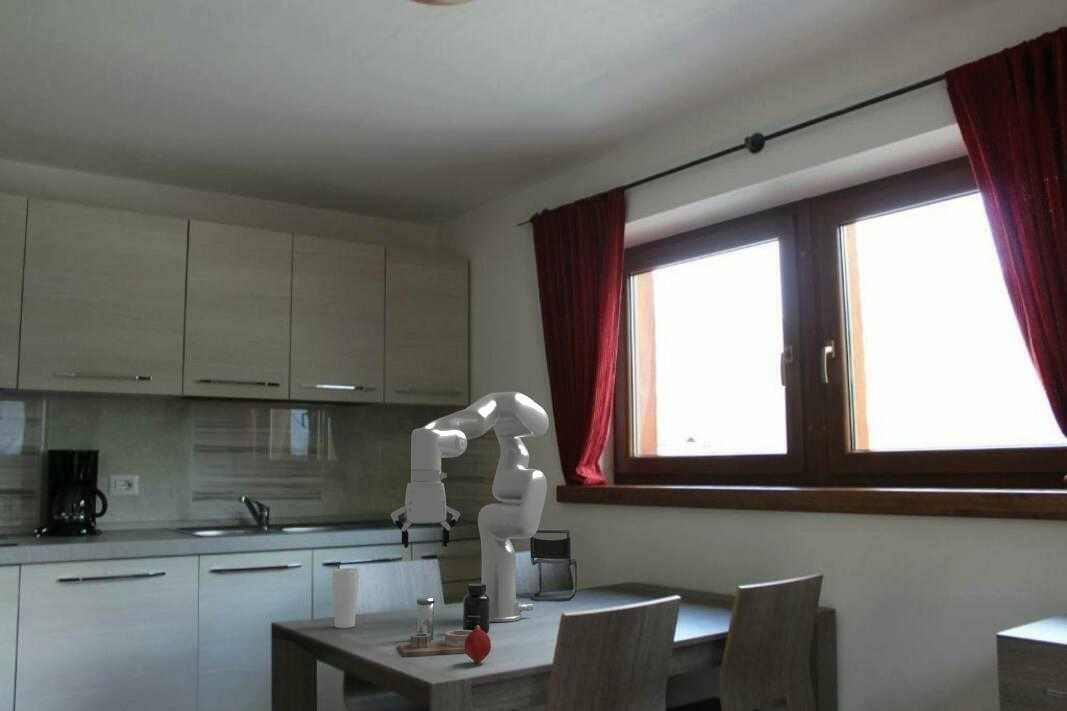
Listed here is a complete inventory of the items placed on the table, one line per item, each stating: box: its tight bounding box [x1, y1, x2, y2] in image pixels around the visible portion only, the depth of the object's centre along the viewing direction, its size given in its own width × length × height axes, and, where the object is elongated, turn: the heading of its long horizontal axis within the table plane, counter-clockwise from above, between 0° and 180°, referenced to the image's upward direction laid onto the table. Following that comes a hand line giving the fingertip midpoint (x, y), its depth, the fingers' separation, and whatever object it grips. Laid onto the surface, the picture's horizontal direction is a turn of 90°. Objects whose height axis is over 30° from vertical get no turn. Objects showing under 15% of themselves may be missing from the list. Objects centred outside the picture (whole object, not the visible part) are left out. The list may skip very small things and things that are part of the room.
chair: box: [529, 529, 578, 602], centre depth 299 cm, size 13×17×22 cm
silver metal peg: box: [416, 596, 435, 641], centre depth 230 cm, size 4×4×10 cm
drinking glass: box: [332, 567, 359, 629], centre depth 248 cm, size 7×7×15 cm
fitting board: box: [397, 629, 472, 658], centre depth 217 cm, size 19×12×4 cm, turn 105°
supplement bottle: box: [462, 583, 491, 634], centre depth 239 cm, size 7×7×12 cm
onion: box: [464, 626, 492, 664], centre depth 202 cm, size 6×6×8 cm
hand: (425, 546), depth 232 cm, fingers open, 9 cm apart
